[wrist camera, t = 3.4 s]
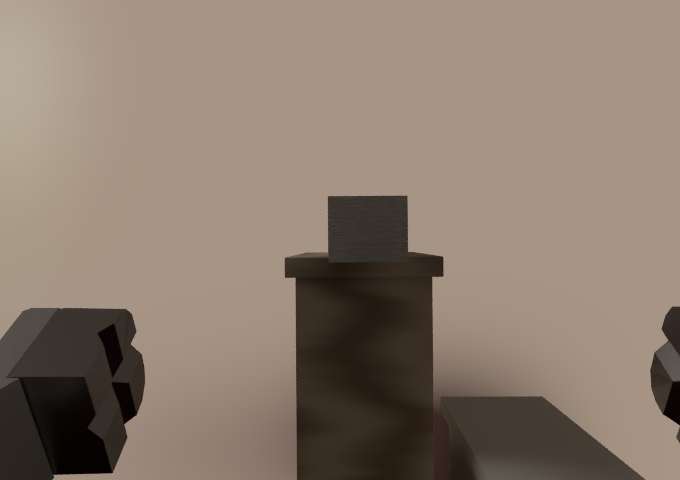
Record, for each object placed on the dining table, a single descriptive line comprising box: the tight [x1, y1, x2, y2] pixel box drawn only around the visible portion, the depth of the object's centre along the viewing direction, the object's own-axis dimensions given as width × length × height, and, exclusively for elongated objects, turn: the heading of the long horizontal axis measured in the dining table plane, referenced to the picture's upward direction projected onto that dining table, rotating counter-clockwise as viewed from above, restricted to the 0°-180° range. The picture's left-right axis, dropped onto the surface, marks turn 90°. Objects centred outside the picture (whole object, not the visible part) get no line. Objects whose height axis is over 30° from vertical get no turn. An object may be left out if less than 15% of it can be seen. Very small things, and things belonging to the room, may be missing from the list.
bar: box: [328, 196, 408, 263], centre depth 35 cm, size 22×3×3 cm, turn 179°
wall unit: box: [285, 252, 443, 480], centre depth 40 cm, size 8×16×26 cm, turn 179°
